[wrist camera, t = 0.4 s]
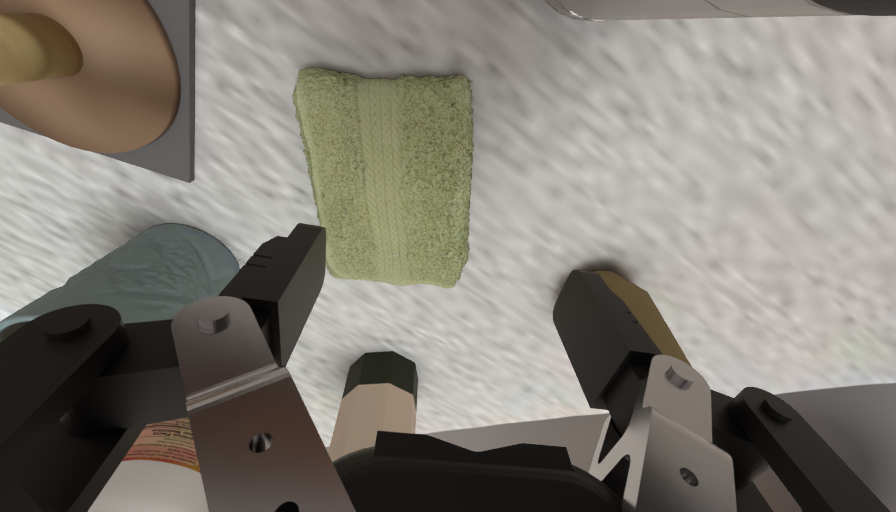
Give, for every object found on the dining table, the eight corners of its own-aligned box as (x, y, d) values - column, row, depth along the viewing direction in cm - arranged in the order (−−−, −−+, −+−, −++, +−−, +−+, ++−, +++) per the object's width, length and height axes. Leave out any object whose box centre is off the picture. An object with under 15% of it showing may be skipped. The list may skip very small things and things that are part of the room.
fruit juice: (289, 382, 42) (106, 827, 19) (229, 402, 44) (-4, 827, 21) (232, 334, 37) (-111, 856, 14) (167, 359, 39) (-228, 852, 16)
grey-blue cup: (170, 194, 28) (23, 289, 18) (274, 272, 33) (202, 382, 23) (109, 257, 31) (-44, 367, 21) (212, 320, 36) (125, 434, 26)
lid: (-118, -161, 17) (-354, -239, 12) (179, -27, 20) (92, -44, 15) (-30, 105, 23) (-156, 128, 18) (182, 174, 26) (123, 210, 21)
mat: (-120, -176, 17) (-137, -182, 16) (195, -32, 20) (189, -34, 20) (-27, 108, 24) (-37, 110, 23) (194, 179, 27) (189, 182, 27)
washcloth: (331, 272, 33) (322, 294, 31) (291, 64, 23) (273, 69, 21) (466, 274, 34) (469, 295, 31) (483, 72, 24) (489, 78, 21)
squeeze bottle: (583, 331, 38) (677, 529, 23) (537, 294, 35) (611, 497, 20) (649, 288, 35) (808, 486, 20) (605, 244, 32) (754, 441, 17)
